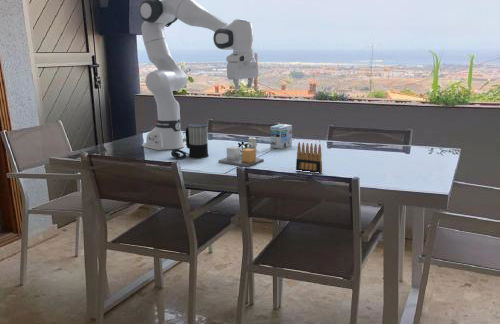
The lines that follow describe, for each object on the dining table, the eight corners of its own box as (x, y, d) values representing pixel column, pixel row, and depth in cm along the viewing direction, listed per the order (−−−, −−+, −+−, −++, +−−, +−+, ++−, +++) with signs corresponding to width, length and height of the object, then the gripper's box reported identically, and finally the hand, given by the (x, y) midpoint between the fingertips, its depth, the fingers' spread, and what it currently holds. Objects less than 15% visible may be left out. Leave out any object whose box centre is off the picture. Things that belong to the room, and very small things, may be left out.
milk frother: (212, 155, 221) (212, 124, 217) (191, 162, 208) (189, 129, 204) (189, 152, 228) (188, 121, 225) (167, 158, 216) (165, 126, 212)
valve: (248, 149, 233) (236, 154, 223) (248, 136, 231) (236, 140, 221) (260, 151, 230) (248, 156, 219) (260, 137, 228) (248, 142, 218)
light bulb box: (280, 149, 233) (281, 127, 230) (269, 147, 237) (269, 126, 234) (292, 145, 241) (292, 124, 239) (281, 144, 245) (281, 123, 243)
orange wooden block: (241, 161, 205) (241, 150, 203) (247, 159, 208) (247, 148, 207) (250, 162, 202) (250, 151, 201) (255, 160, 206) (255, 149, 205)
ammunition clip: (322, 173, 188) (322, 143, 186) (320, 174, 187) (321, 144, 184) (297, 169, 194) (297, 141, 191) (295, 170, 192) (296, 142, 189)
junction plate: (218, 162, 207) (218, 149, 206) (234, 157, 217) (233, 144, 215) (248, 167, 199) (248, 153, 197) (263, 161, 208) (263, 148, 207)
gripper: (249, 56, 218) (250, 86, 221) (223, 57, 201) (224, 90, 204) (261, 56, 215) (261, 87, 218) (236, 57, 198) (236, 90, 201)
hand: (243, 88), depth 211 cm, fingers open, 8 cm apart
